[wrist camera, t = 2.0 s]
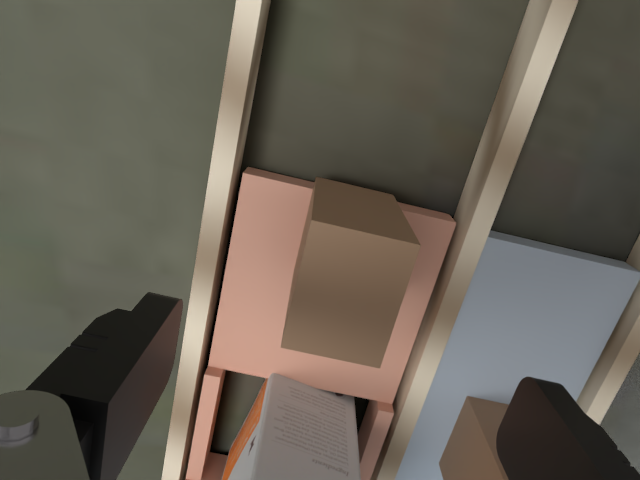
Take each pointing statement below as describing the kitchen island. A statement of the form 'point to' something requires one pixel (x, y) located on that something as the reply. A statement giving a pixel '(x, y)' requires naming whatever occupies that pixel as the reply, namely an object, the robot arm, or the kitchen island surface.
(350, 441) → the skincare box
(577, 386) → the strip empty
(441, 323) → the lane rails
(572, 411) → the robot arm
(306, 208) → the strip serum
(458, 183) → the kitchen island surface
